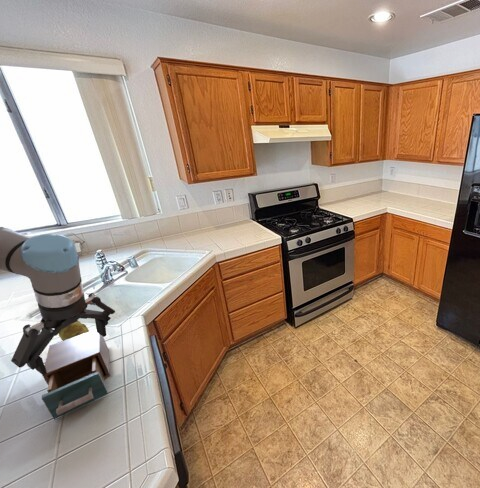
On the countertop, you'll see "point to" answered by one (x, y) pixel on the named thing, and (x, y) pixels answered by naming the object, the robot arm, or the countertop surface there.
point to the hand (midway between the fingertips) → (74, 350)
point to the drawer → (75, 387)
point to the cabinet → (77, 353)
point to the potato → (73, 330)
